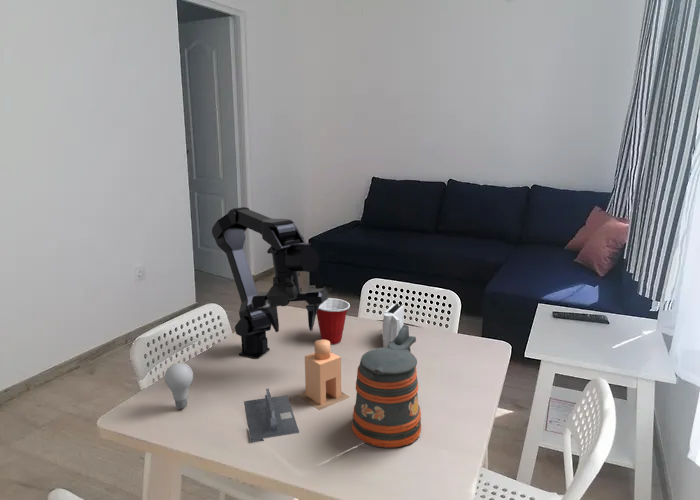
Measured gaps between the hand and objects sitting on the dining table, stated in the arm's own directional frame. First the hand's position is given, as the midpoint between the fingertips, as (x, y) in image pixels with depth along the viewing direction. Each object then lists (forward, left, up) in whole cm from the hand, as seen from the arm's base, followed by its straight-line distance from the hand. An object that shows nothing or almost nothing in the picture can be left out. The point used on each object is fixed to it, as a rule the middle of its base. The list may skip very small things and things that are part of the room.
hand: (294, 331), depth 133 cm
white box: (+18, +29, -12) cm, 36 cm away
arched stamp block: (+12, -8, -12) cm, 18 cm away
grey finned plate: (+5, -20, -12) cm, 24 cm away
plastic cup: (0, +24, -12) cm, 27 cm away
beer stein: (+30, -12, -12) cm, 35 cm away
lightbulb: (-16, -24, -12) cm, 32 cm away
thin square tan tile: (+12, -8, -12) cm, 19 cm away
